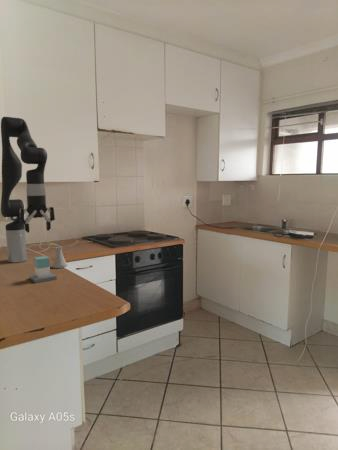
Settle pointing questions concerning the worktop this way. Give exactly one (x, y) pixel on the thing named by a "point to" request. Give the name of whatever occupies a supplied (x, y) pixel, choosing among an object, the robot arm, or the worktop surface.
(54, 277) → the base plate
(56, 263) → the flask
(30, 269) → the worktop surface
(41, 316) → the worktop surface
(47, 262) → the teal brick
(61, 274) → the worktop surface
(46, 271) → the white brick
